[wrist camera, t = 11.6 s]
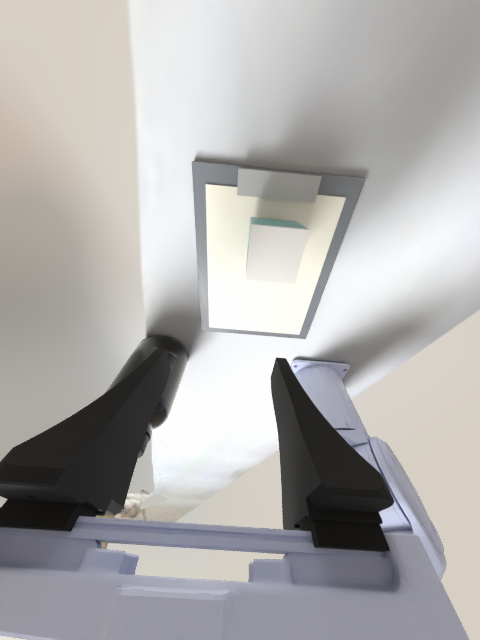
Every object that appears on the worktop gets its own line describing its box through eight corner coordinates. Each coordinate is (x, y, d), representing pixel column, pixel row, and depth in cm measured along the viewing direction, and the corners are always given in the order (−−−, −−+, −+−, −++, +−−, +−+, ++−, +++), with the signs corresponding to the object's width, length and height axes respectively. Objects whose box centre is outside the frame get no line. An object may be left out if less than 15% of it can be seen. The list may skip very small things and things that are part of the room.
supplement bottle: (128, 341, 25) (53, 438, 15) (170, 327, 24) (114, 426, 14) (159, 372, 29) (114, 467, 19) (197, 362, 27) (169, 460, 17)
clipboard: (304, 336, 24) (307, 343, 22) (202, 327, 23) (199, 334, 22) (362, 178, 14) (371, 177, 13) (193, 161, 14) (189, 159, 13)
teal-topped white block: (284, 262, 18) (295, 284, 13) (246, 258, 18) (245, 280, 13) (293, 219, 15) (309, 230, 11) (250, 215, 15) (251, 224, 11)
